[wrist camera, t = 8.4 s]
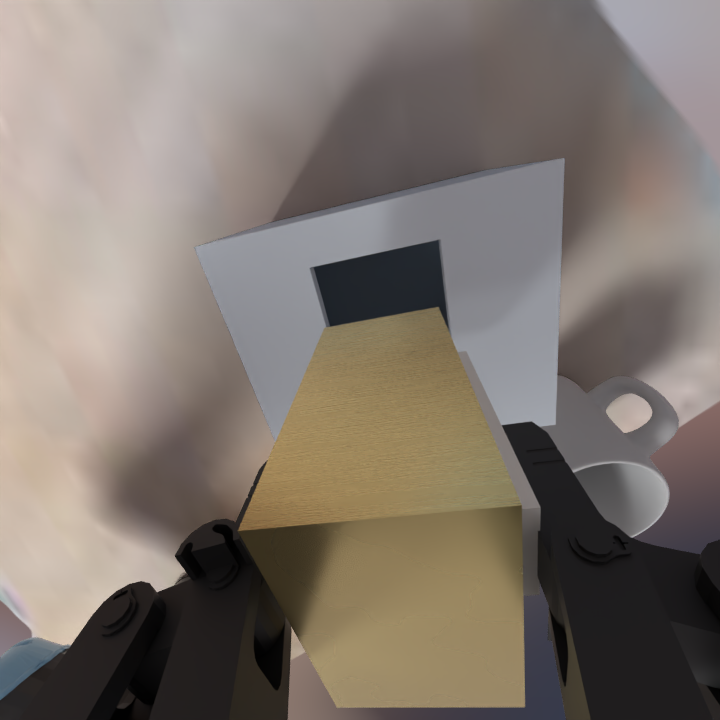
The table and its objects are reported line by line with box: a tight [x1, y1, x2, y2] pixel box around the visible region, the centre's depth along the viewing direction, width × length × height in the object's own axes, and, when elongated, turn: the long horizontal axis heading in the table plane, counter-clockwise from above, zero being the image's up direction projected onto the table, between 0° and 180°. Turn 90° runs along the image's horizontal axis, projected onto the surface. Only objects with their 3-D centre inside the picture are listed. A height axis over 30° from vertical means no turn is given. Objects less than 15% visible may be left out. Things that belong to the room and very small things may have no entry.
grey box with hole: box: [194, 158, 565, 442], centre depth 23 cm, size 16×13×12 cm
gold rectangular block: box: [238, 307, 525, 708], centre depth 10 cm, size 4×6×8 cm, turn 12°
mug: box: [540, 375, 679, 538], centre depth 27 cm, size 12×8×11 cm
